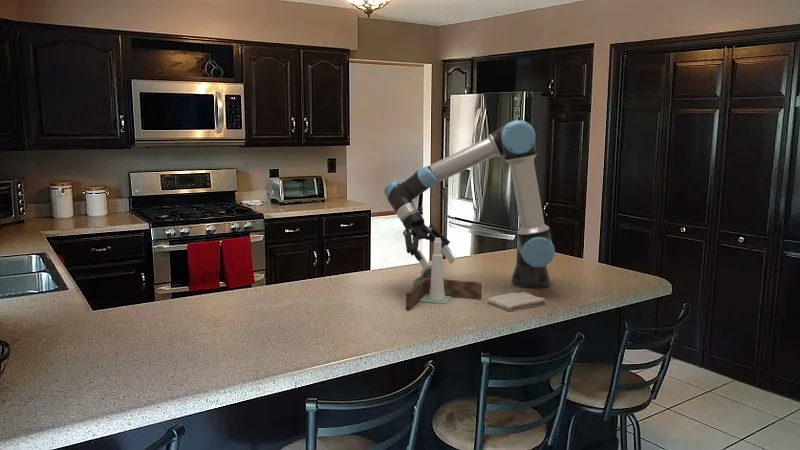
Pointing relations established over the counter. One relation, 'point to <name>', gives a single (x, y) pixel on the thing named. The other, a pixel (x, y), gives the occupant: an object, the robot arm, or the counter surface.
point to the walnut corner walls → (450, 288)
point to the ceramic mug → (424, 274)
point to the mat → (426, 299)
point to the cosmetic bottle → (437, 273)
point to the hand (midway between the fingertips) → (440, 264)
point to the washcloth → (516, 301)
